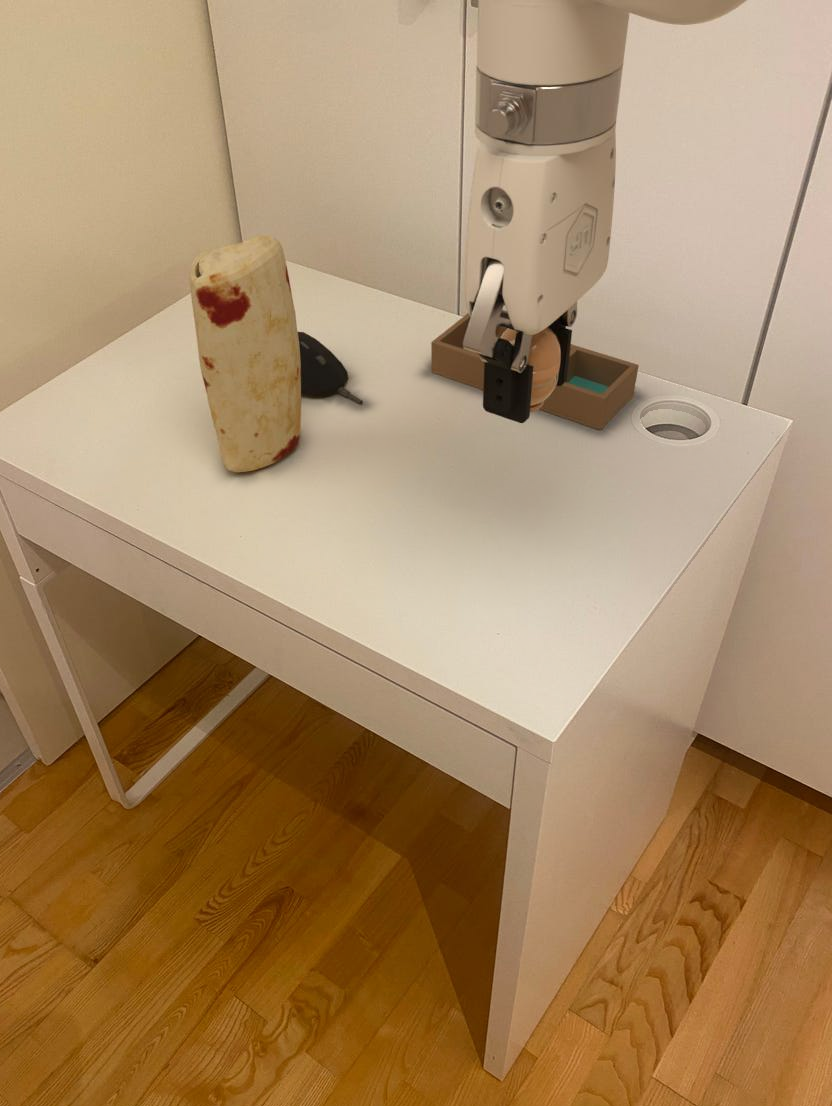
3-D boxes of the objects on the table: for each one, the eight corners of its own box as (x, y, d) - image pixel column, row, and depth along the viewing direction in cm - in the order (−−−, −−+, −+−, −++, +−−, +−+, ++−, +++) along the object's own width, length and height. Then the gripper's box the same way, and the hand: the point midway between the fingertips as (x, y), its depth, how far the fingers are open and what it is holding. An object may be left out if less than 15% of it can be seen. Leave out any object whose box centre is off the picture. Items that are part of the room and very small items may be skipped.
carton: (467, 342, 103) (468, 312, 101) (633, 396, 95) (638, 364, 92) (431, 372, 100) (431, 341, 98) (600, 430, 91) (604, 399, 89)
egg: (560, 387, 67) (567, 310, 63) (551, 422, 64) (559, 345, 60) (498, 381, 68) (502, 305, 64) (487, 416, 65) (490, 339, 61)
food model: (250, 494, 88) (213, 282, 74) (202, 465, 92) (157, 257, 77) (327, 443, 93) (306, 233, 78) (278, 417, 96) (249, 212, 82)
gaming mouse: (339, 418, 95) (336, 382, 92) (237, 368, 103) (231, 333, 100) (383, 390, 98) (381, 354, 95) (281, 342, 106) (276, 308, 103)
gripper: (529, 171, 47) (509, 482, 60) (680, 62, 55) (633, 354, 69) (398, 143, 50) (407, 443, 63) (560, 44, 59) (537, 326, 72)
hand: (525, 394), depth 66 cm, fingers closed on egg, 4 cm apart
